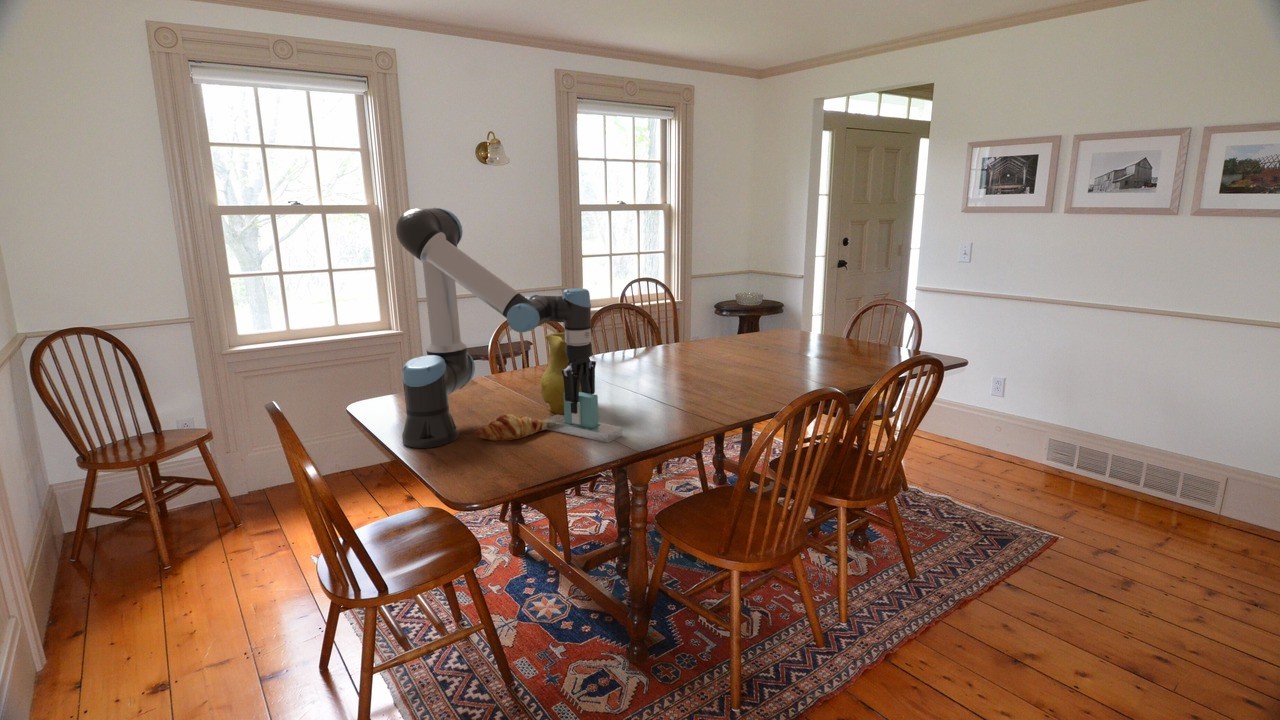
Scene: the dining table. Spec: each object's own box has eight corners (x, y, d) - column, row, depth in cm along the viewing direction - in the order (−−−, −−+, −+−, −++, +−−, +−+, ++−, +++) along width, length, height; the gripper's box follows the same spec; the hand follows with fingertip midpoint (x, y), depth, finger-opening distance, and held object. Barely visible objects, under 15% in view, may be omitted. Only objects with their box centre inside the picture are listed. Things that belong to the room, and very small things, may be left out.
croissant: (544, 438, 197) (539, 412, 199) (553, 431, 188) (549, 405, 190) (474, 448, 188) (470, 421, 189) (480, 443, 179) (476, 414, 181)
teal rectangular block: (592, 435, 187) (590, 397, 185) (564, 430, 193) (563, 392, 190) (598, 432, 190) (597, 395, 187) (571, 427, 195) (570, 390, 193)
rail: (608, 442, 182) (607, 434, 182) (542, 428, 195) (542, 420, 194) (622, 435, 188) (621, 427, 187) (557, 421, 201) (557, 414, 200)
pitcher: (529, 411, 210) (529, 335, 205) (562, 399, 226) (563, 328, 221) (573, 420, 202) (575, 341, 197) (604, 406, 219) (606, 333, 214)
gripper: (570, 350, 176) (573, 431, 182) (606, 339, 190) (608, 415, 196) (549, 347, 180) (552, 427, 186) (585, 336, 194) (588, 411, 199)
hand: (581, 420), depth 191 cm, fingers open, 4 cm apart
